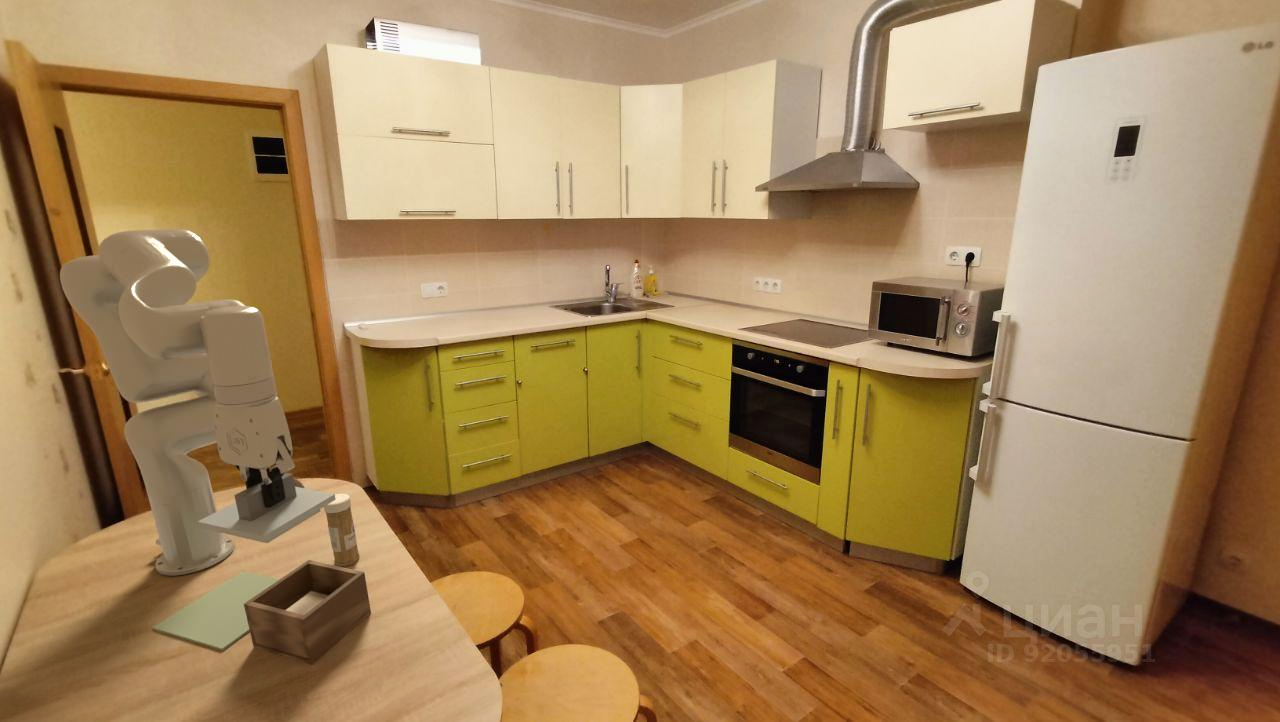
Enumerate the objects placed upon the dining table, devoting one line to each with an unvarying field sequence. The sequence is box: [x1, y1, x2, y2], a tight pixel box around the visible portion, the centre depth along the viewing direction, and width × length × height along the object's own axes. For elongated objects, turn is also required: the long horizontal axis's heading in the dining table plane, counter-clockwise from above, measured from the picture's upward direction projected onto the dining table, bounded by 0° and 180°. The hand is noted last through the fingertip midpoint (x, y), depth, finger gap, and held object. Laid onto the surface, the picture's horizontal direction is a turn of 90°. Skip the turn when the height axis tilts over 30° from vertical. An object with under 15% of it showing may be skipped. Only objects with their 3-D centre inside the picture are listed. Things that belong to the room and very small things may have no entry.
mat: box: [151, 570, 280, 651], centre depth 101 cm, size 16×16×1 cm
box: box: [244, 559, 372, 665], centre depth 94 cm, size 12×12×8 cm
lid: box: [198, 472, 336, 544], centre depth 91 cm, size 13×13×6 cm
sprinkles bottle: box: [323, 493, 361, 567], centre depth 112 cm, size 5×5×13 cm
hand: (267, 501), depth 91 cm, fingers closed on lid
